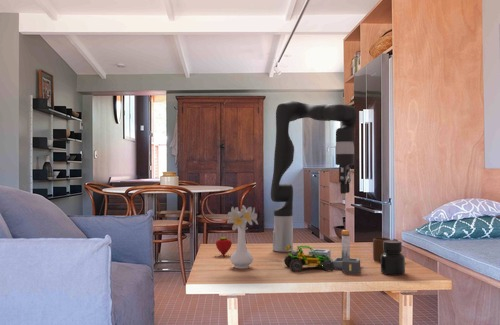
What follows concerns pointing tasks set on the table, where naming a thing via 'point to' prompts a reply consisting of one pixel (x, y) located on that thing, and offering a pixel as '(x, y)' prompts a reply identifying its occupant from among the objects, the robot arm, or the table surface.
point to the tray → (340, 262)
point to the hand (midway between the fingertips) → (345, 193)
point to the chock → (351, 266)
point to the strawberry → (223, 245)
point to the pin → (345, 245)
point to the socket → (320, 252)
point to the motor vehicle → (306, 259)
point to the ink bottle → (392, 258)
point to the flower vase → (241, 235)
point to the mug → (379, 248)
